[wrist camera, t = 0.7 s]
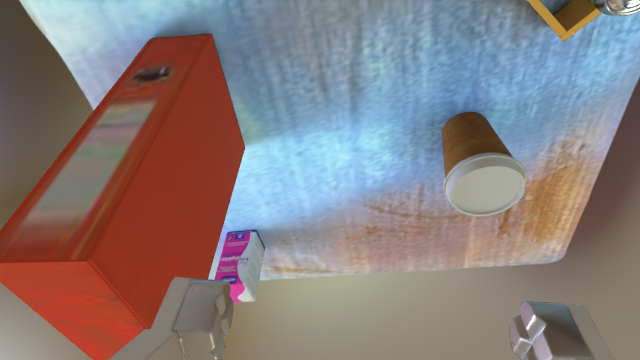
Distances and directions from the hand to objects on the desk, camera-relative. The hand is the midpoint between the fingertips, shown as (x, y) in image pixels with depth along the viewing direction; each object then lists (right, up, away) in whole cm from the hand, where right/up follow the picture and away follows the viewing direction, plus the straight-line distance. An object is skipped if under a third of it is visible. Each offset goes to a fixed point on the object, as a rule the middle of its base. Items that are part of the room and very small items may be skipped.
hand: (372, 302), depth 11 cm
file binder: (-17, +15, +43) cm, 49 cm away
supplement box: (-15, -8, +64) cm, 67 cm away
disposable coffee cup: (+19, +10, +45) cm, 50 cm away
